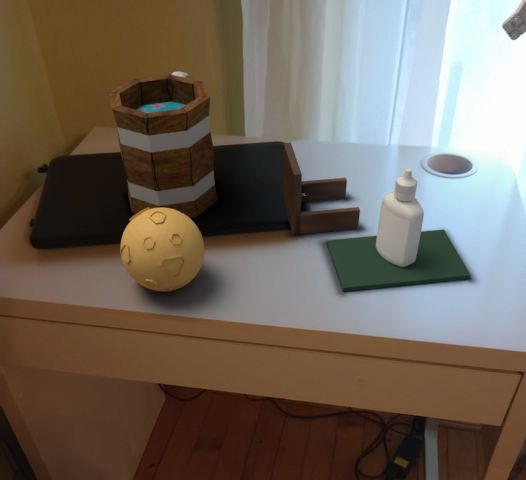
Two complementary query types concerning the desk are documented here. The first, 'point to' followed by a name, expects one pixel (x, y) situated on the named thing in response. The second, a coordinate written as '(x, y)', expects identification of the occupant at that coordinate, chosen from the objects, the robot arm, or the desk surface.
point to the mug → (166, 143)
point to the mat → (387, 274)
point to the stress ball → (162, 249)
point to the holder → (314, 192)
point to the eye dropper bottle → (400, 223)
